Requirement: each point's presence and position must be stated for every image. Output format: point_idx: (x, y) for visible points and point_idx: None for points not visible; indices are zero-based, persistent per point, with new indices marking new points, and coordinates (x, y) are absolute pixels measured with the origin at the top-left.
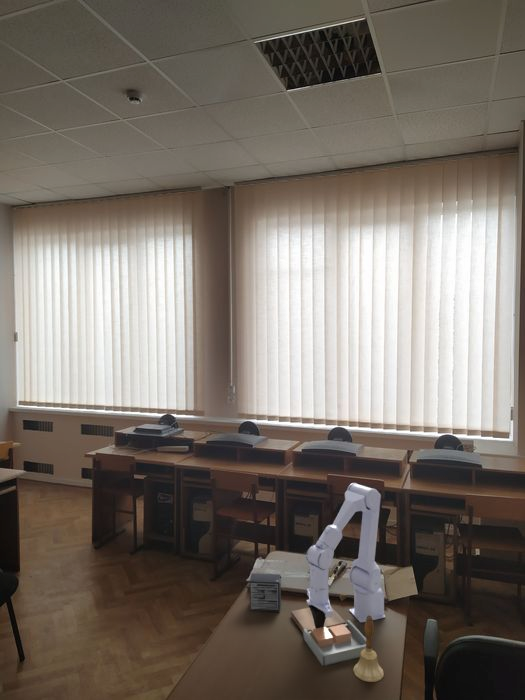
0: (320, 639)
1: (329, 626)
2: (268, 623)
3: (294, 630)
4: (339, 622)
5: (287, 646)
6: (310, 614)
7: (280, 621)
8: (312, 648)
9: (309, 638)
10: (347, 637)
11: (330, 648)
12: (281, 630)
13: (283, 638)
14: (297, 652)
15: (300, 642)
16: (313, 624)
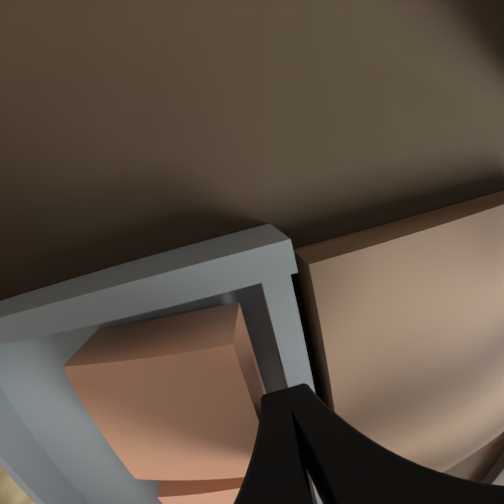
0: (85, 393)
1: None
2: (461, 17)
3: (398, 164)
4: None
5: (161, 61)
6: (502, 328)
7: (488, 96)
8: (62, 286)
9: (98, 288)
10: None
11: None
12: (399, 60)
13: (288, 43)
14: (68, 145)
15: (209, 186)
16: (395, 352)
